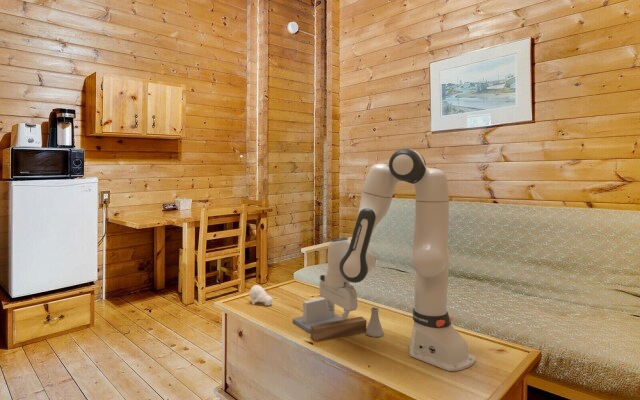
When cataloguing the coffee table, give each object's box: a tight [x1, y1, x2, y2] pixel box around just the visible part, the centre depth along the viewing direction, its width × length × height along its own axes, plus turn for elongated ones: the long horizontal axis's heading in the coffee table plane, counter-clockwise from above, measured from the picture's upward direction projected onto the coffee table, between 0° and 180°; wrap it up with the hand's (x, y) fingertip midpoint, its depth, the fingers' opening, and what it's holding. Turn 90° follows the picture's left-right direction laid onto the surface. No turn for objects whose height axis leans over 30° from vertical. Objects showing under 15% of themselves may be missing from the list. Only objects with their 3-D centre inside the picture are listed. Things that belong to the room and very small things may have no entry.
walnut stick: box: [310, 316, 367, 343], centre depth 149 cm, size 4×22×5 cm, turn 114°
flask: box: [365, 306, 385, 338], centre depth 149 cm, size 7×7×10 cm
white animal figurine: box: [248, 284, 274, 307], centre depth 183 cm, size 6×8×12 cm
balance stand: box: [292, 297, 344, 334], centre depth 160 cm, size 13×18×10 cm
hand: (337, 314), depth 148 cm, fingers open, 8 cm apart
